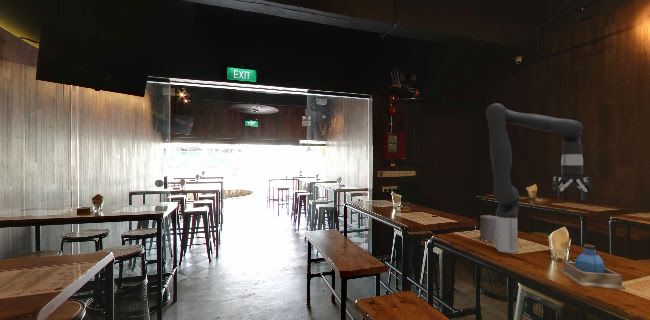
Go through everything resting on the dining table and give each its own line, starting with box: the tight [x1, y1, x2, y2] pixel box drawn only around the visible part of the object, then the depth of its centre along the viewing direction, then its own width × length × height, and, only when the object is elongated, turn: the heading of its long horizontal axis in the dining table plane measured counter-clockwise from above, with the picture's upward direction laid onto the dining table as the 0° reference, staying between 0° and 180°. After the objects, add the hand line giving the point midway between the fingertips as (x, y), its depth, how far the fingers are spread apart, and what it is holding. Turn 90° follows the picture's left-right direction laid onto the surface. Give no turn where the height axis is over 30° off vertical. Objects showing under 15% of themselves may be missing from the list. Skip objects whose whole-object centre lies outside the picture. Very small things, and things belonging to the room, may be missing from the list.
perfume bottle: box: [575, 244, 605, 273], centre depth 108 cm, size 6×6×12 cm
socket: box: [560, 261, 626, 290], centre depth 107 cm, size 13×13×4 cm
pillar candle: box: [479, 214, 496, 241], centre depth 162 cm, size 10×10×15 cm
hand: (571, 199), depth 129 cm, fingers open, 8 cm apart
